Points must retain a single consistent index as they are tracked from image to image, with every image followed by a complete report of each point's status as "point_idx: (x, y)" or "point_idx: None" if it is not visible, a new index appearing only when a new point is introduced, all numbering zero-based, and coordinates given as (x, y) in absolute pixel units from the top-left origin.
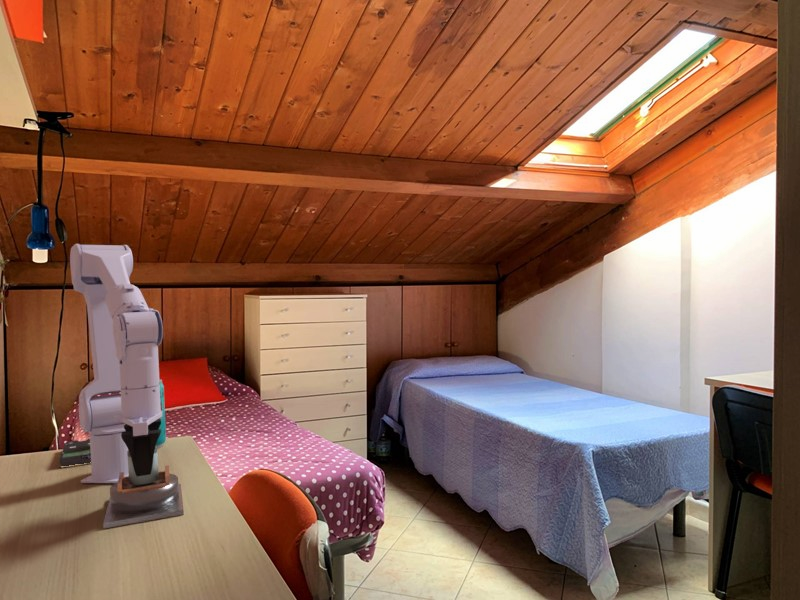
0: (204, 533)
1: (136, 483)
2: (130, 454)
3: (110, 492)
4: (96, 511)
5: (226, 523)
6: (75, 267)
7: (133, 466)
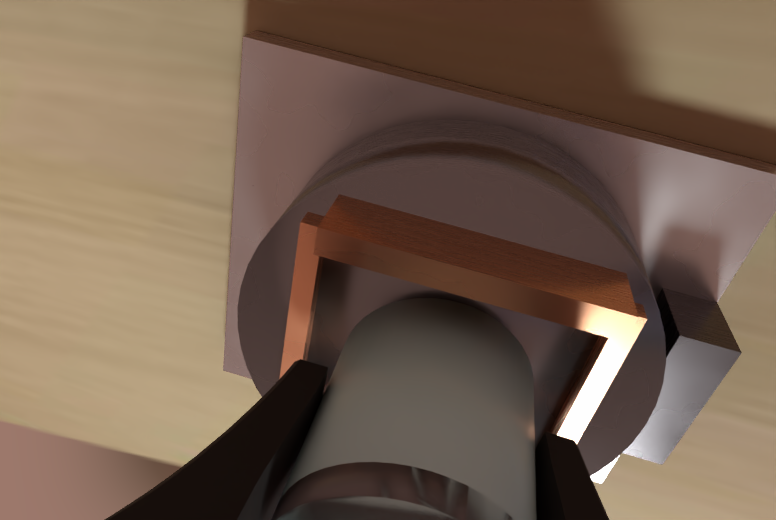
0: (14, 337)
1: (360, 326)
2: (165, 479)
3: (433, 161)
4: (611, 42)
5: (74, 410)
6: None
7: (259, 402)
